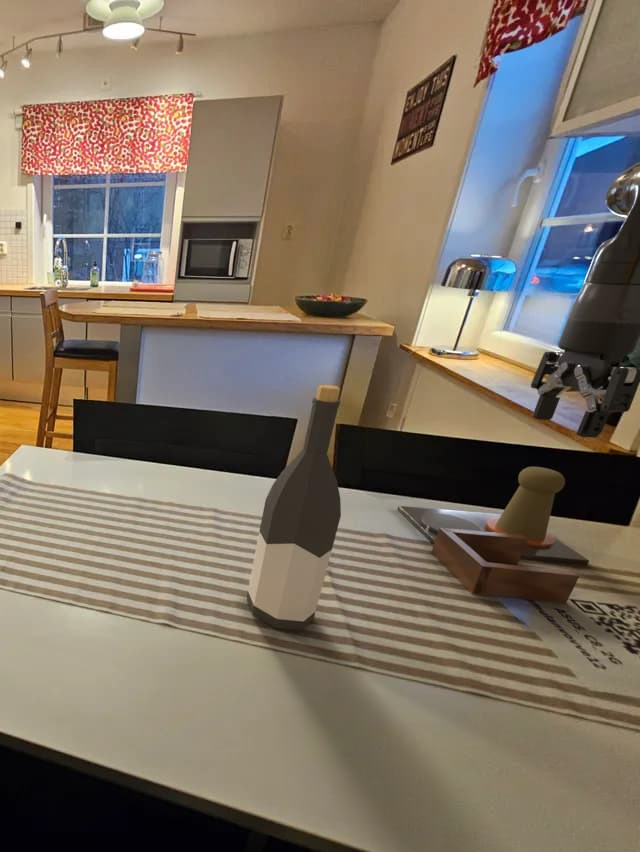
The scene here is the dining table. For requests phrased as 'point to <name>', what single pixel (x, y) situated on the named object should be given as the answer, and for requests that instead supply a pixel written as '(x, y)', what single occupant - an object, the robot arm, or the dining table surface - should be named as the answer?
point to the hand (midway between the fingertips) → (562, 427)
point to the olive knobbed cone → (531, 503)
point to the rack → (499, 566)
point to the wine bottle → (298, 527)
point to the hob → (486, 522)
